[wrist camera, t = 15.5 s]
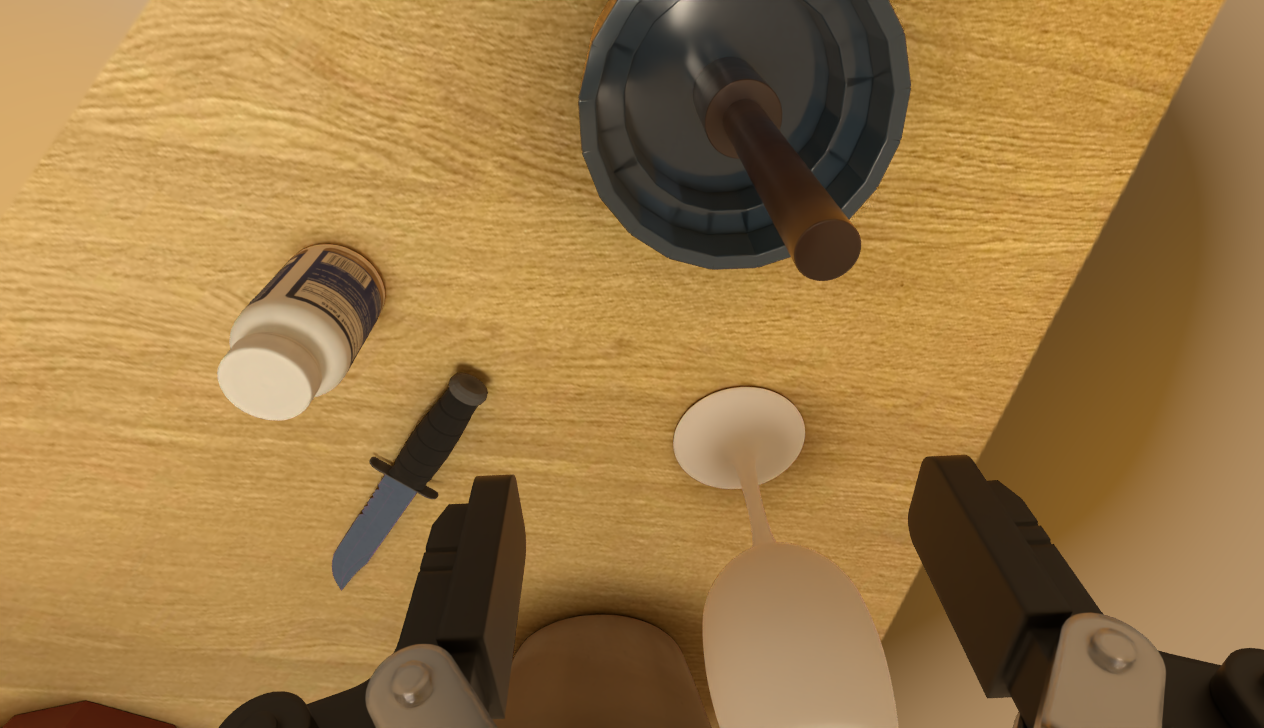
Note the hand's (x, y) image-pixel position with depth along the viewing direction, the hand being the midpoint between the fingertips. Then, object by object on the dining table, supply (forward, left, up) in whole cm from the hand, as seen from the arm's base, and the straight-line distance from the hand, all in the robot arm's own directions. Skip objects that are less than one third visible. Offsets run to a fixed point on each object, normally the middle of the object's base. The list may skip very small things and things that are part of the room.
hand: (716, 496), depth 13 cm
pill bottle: (+7, -18, -25) cm, 31 cm away
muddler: (-2, +4, -24) cm, 24 cm away
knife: (+23, -18, -25) cm, 38 cm away
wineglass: (+20, +5, -25) cm, 32 cm away
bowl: (-2, +3, -25) cm, 25 cm away
